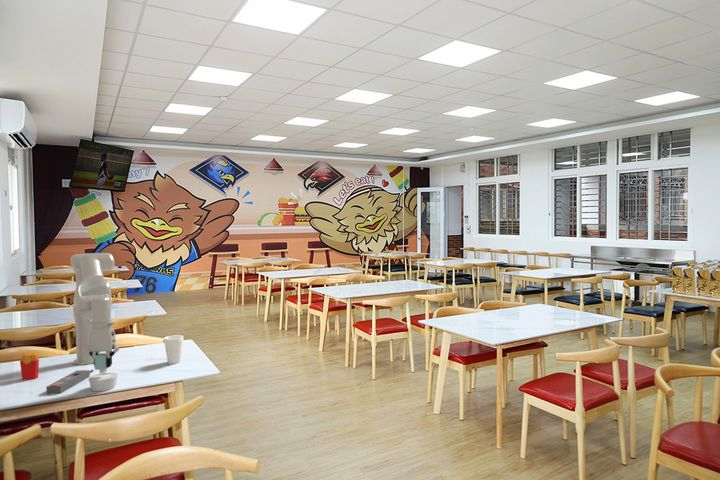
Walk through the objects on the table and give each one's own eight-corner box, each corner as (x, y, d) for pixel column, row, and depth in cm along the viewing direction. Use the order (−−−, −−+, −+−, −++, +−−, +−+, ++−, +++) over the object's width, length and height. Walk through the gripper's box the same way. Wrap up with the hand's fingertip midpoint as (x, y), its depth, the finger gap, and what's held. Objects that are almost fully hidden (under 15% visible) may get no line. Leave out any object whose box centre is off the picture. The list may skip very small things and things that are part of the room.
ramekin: (111, 382, 216) (111, 370, 216) (122, 387, 209) (122, 375, 209) (84, 388, 207) (84, 377, 207) (95, 394, 200) (94, 382, 200)
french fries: (18, 379, 221) (17, 354, 220) (25, 376, 225) (24, 351, 224) (36, 379, 220) (34, 354, 220) (42, 377, 224) (41, 351, 224)
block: (100, 371, 210) (100, 353, 209) (111, 370, 210) (110, 352, 209) (95, 374, 205) (94, 355, 205) (105, 374, 205) (104, 355, 205)
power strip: (86, 371, 232) (86, 364, 232) (98, 371, 232) (98, 363, 232) (46, 393, 202) (46, 385, 202) (60, 393, 202) (60, 385, 202)
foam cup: (183, 363, 242) (183, 338, 242) (164, 365, 239) (163, 340, 239) (184, 358, 251) (183, 334, 251) (165, 360, 248) (164, 336, 248)
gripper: (125, 322, 211) (126, 363, 211) (86, 323, 211) (88, 364, 211) (116, 326, 203) (118, 368, 204) (76, 327, 203) (78, 369, 204)
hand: (103, 366), depth 207 cm, fingers closed on block, 4 cm apart
